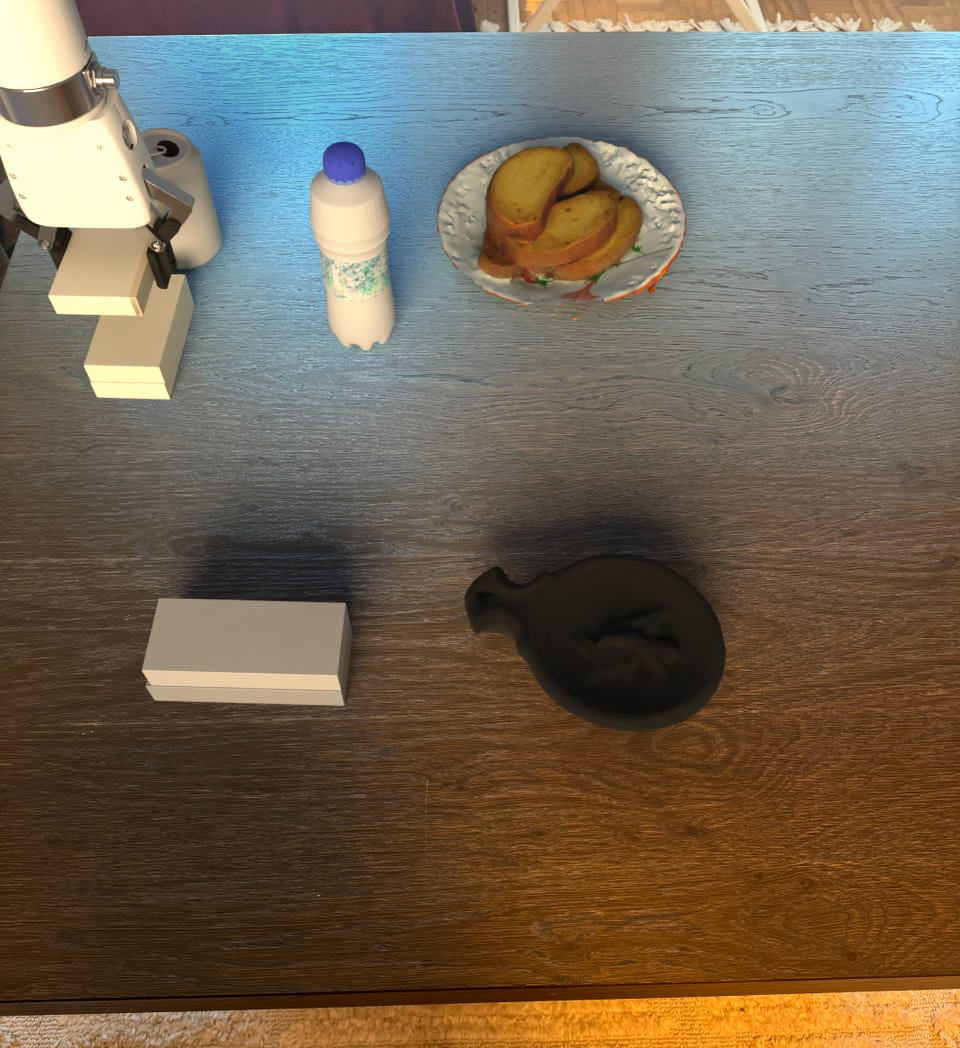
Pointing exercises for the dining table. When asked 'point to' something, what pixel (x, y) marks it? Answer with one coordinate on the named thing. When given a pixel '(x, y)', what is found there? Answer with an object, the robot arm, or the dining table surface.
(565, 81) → the dining table surface
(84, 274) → the cream flat block
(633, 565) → the oil lamp
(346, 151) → the bottle
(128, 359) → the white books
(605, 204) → the food on plate
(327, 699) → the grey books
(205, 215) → the can
